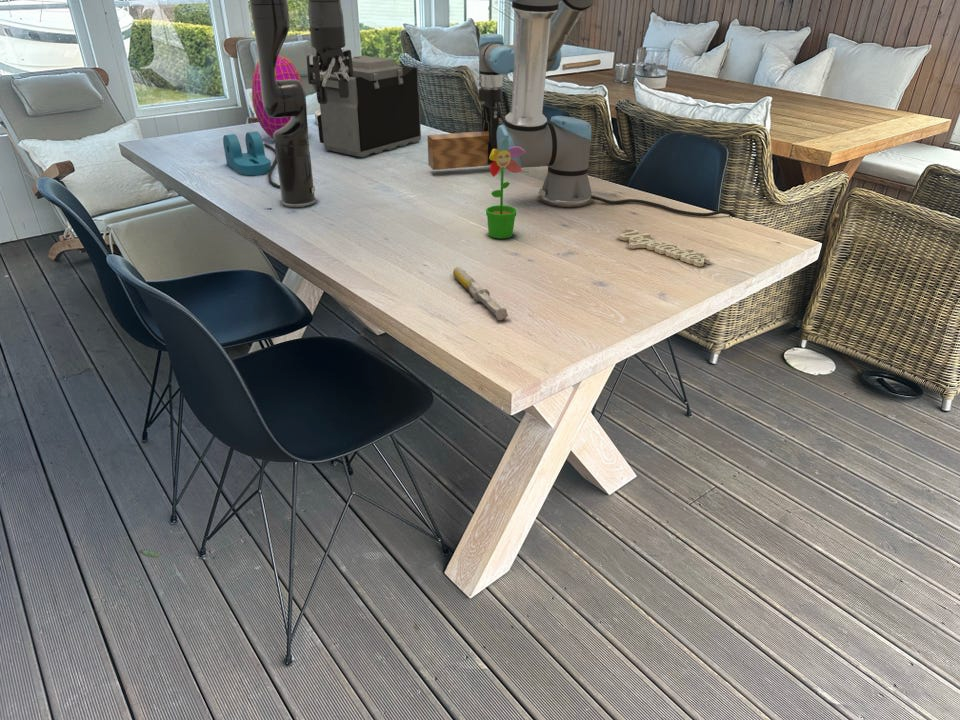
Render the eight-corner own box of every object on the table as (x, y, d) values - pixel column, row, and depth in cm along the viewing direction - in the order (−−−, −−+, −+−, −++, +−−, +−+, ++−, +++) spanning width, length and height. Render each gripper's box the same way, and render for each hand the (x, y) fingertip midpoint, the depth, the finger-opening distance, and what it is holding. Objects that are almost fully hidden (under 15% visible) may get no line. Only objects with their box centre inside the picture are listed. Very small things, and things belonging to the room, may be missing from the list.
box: (495, 159, 234) (495, 130, 229) (501, 164, 229) (502, 134, 224) (428, 165, 227) (427, 135, 222) (433, 170, 222) (432, 139, 217)
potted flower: (492, 242, 172) (494, 140, 160) (478, 232, 178) (479, 133, 166) (525, 236, 176) (529, 136, 163) (510, 227, 182) (513, 130, 169)
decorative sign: (605, 235, 174) (629, 227, 180) (604, 239, 175) (629, 230, 181) (694, 266, 158) (718, 256, 163) (693, 270, 158) (717, 260, 164)
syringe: (449, 274, 155) (449, 263, 153) (465, 272, 156) (464, 260, 154) (490, 323, 135) (491, 310, 133) (508, 319, 136) (508, 307, 134)
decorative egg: (293, 132, 276) (283, 50, 261) (319, 140, 264) (310, 56, 249) (249, 139, 265) (236, 54, 250) (273, 148, 253) (261, 60, 238)
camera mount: (227, 164, 233) (221, 132, 227) (257, 160, 238) (252, 129, 233) (244, 176, 220) (239, 143, 215) (276, 172, 225) (271, 139, 220)
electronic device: (383, 133, 276) (378, 52, 261) (425, 141, 265) (422, 56, 250) (314, 150, 251) (304, 61, 235) (358, 160, 240) (350, 67, 224)
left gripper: (331, 21, 160) (338, 94, 168) (292, 25, 149) (301, 104, 157) (358, 22, 157) (364, 97, 165) (321, 27, 146) (328, 107, 154)
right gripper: (471, 83, 225) (471, 154, 237) (486, 93, 209) (485, 169, 221) (493, 82, 227) (492, 153, 239) (510, 92, 211) (507, 167, 223)
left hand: (333, 100), depth 161 cm, fingers open, 8 cm apart
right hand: (489, 160), depth 230 cm, fingers closed on box, 6 cm apart
